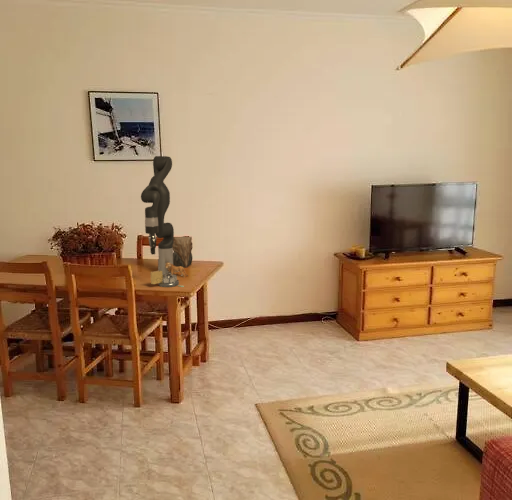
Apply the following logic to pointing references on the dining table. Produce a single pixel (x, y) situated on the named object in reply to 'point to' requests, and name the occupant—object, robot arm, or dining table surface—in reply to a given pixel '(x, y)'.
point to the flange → (169, 283)
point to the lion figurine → (175, 269)
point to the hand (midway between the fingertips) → (152, 253)
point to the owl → (182, 251)
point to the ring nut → (162, 277)
